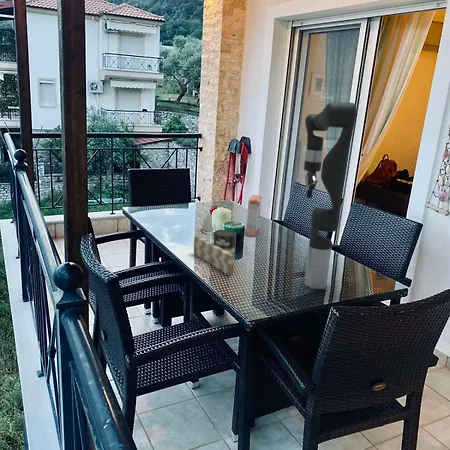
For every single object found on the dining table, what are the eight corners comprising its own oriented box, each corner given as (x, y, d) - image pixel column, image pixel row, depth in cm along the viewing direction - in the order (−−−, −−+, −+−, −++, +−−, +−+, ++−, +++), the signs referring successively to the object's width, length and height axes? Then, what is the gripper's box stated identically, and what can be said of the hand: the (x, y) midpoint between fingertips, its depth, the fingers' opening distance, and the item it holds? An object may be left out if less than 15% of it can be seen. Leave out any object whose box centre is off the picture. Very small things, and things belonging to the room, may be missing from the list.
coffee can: (231, 266, 207) (233, 237, 203) (209, 263, 209) (211, 234, 205) (236, 259, 217) (238, 231, 213) (215, 256, 219) (217, 228, 215)
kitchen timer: (196, 230, 258) (198, 205, 254) (214, 226, 268) (215, 202, 264) (213, 236, 249) (215, 210, 245) (231, 232, 259) (232, 207, 254)
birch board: (233, 274, 198) (234, 255, 196) (228, 275, 197) (229, 255, 194) (198, 253, 222) (198, 235, 219) (193, 253, 220) (194, 236, 218)
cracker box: (255, 237, 253) (258, 200, 247) (245, 235, 254) (248, 199, 248) (259, 230, 266) (262, 195, 260) (249, 229, 267) (251, 194, 262)
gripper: (301, 157, 210) (297, 194, 215) (308, 161, 197) (304, 200, 202) (317, 158, 211) (313, 195, 215) (325, 162, 198) (320, 201, 203)
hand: (308, 197), depth 209 cm, fingers closed
